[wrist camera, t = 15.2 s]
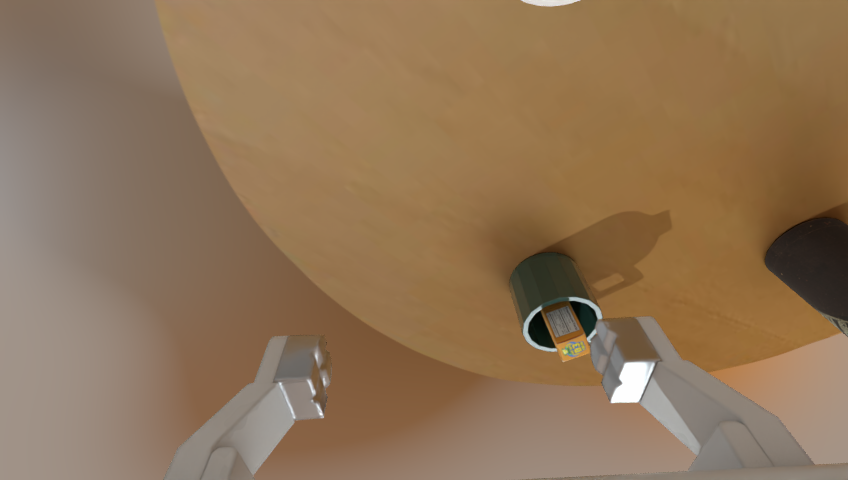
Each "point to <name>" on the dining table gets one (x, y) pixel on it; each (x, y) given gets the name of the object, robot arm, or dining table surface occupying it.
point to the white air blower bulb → (550, 2)
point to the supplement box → (565, 330)
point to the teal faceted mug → (551, 296)
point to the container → (815, 266)
